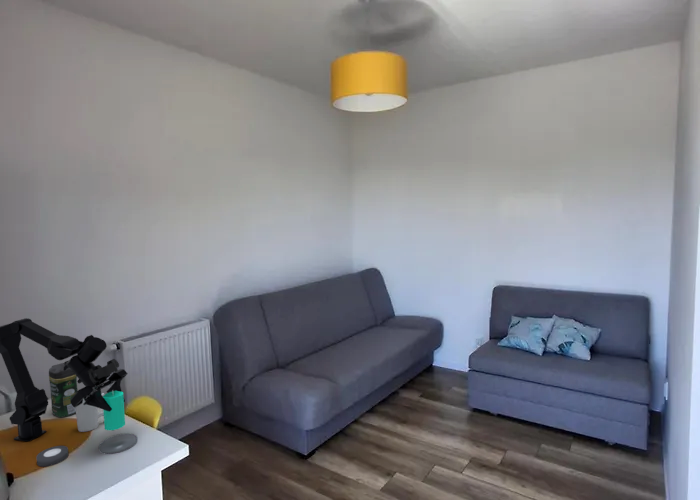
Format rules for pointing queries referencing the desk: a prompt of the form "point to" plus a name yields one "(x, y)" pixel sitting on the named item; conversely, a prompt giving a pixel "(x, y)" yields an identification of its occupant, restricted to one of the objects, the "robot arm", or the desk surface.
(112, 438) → the slate coaster
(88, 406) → the mug
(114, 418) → the candle
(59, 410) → the coffee jar
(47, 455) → the dark grey washer
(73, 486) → the desk surface
